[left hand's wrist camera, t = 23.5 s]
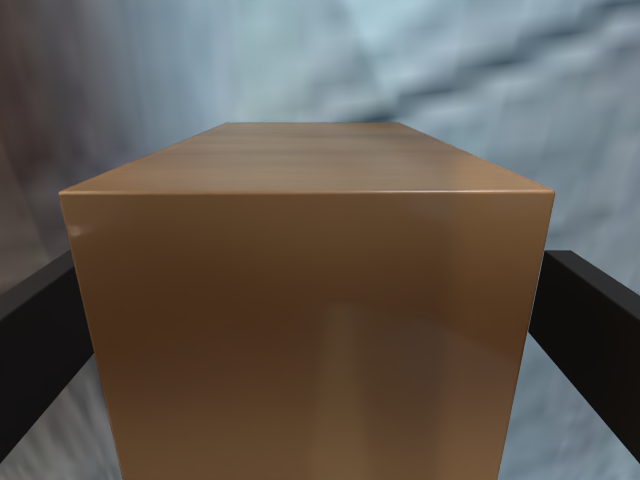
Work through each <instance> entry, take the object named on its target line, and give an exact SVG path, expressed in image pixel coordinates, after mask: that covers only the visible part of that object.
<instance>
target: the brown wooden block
mask: <svg viewBox="0 0 640 480" xmlns="http://www.w3.org/2000/svg"><path fill="white" fill-rule="evenodd" d="M554 197H555V191H554V190H552V189H550V188H548V187H545V186H543V185H541V184H538V183H536V182H534V181H532V180H529V179H527V178H525V177H522V176H520V175H518V174H516V173H513V172H511V171H509V170H506V169H504V168H502V167H500V166H497V165H495V164H493V163H491V162H488V161H486V160H484V159H481V158H479V157H477V156H475V155H472V154H470V153H468V152H465V151H463V150H461V149H459V148H456V147H454V146H452V145H449V144H447V143H445V142H443V141H440V140H438V139H436V138H433V137H431V136H429V135H427V134H424V133H422V132H420V131H417V130H415V129H413V128H411V127H408V126H406V125H404V124H401V123H224V124H222V125H220V126H217V127H215V128H212V129H210V130H207V131H205V132H203V133H200V134H198V135H195V136H193V137H190V138H188V139H186V140H183V141H181V142H178V143H176V144H174V145H171V146H169V147H166V148H164V149H161V150H159V151H157V152H154V153H152V154H149V155H147V156H144V157H142V158H140V159H137V160H135V161H132V162H130V163H127V164H125V165H123V166H120V167H118V168H115V169H113V170H110V171H108V172H106V173H103V174H101V175H98V176H96V177H93V178H91V179H89V180H86V181H84V182H81V183H79V184H76V185H74V186H72V187H69V188H67V189H64V190H62V191H60V192H59V199H60V204H61V208H62V213H63V217H64V222H65V226H66V230H67V235H68V239H69V244H70V248H71V253H72V257H73V261H74V266H75V270H76V275H77V279H78V284H79V288H80V292H81V297H82V301H83V306H84V310H85V315H86V319H87V324H88V328H89V332H90V337H91V341H92V346H93V350H94V355H95V359H96V363H97V368H98V372H99V377H100V381H101V386H102V390H103V394H104V399H105V403H106V408H107V412H108V417H109V421H110V426H111V430H112V434H113V439H114V443H115V448H116V452H117V457H118V461H119V465H120V470H121V474H122V479H123V480H497V478H498V474H499V469H500V464H501V459H502V454H503V449H504V444H505V439H506V434H507V429H508V424H509V419H510V414H511V409H512V404H513V399H514V395H515V390H516V385H517V380H518V375H519V370H520V365H521V360H522V355H523V350H524V345H525V340H526V335H527V330H528V325H529V320H530V316H531V311H532V306H533V301H534V296H535V291H536V286H537V281H538V276H539V271H540V266H541V261H542V256H543V251H544V246H545V242H546V237H547V232H548V227H549V222H550V217H551V212H552V207H553V202H554Z"/></svg>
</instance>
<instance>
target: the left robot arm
mask: <svg viewBox="0 0 640 480" xmlns="http://www.w3.org/2000/svg"><path fill="white" fill-rule="evenodd" d="M528 332H529V333H530V335H531V336H532V337H533V338H534V339H535V340H536V342H537V343H538V344H539V345H540V346H541V348H542V349H543V350H544V351H545V352H546V353H547V355H548V356H549V357H550V358H551V359H552V361H553V362H554V363H555V364H556V365H557V366H558V368H559V369H560V370H561V371H562V372H563V374H564V375H565V376H566V377H567V378H568V379H569V381H570V382H571V383H572V384H573V385H574V387H575V388H576V389H577V390H578V391H579V392H580V394H581V395H582V396H583V397H584V398H585V400H586V401H587V402H588V403H589V404H590V405H591V407H592V408H593V409H594V410H595V411H596V413H597V414H598V415H599V416H600V417H601V418H602V420H603V421H604V422H605V423H606V424H607V426H608V427H609V428H610V429H611V430H612V431H613V433H614V434H615V435H616V436H617V437H618V439H619V440H620V441H621V442H622V443H623V444H624V446H625V447H626V448H627V449H628V450H629V452H630V453H631V454H632V455H633V456H634V457H635V459H636V460H637V461H638V462H639V463H640V296H639V295H638V294H636V293H635V292H633V291H632V290H630V289H629V288H627V287H626V286H624V285H623V284H621V283H620V282H618V281H616V280H615V279H613V278H612V277H610V276H609V275H607V274H606V273H604V272H603V271H601V270H600V269H598V268H597V267H595V266H594V265H592V264H591V263H589V262H588V261H586V260H585V259H583V258H581V257H580V256H578V255H577V254H575V253H574V252H572V251H571V250H545V251H544V256H543V261H542V266H541V271H540V276H539V280H538V285H537V290H536V295H535V300H534V305H533V310H532V315H531V320H530V325H529V329H528ZM93 353H94V350H93V346H92V341H91V337H90V332H89V328H88V324H87V319H86V315H85V310H84V306H83V301H82V297H81V292H80V288H79V284H78V279H77V275H76V270H75V266H74V261H73V257H72V253H71V250H69V251H68V252H66V253H65V254H63V255H62V256H60V257H59V258H57V259H55V260H54V261H52V262H51V263H49V264H48V265H46V266H45V267H43V268H42V269H40V270H39V271H37V272H36V273H34V274H33V275H31V276H30V277H28V278H27V279H25V280H24V281H22V282H20V283H19V284H17V285H16V286H14V287H13V288H11V289H10V290H8V291H7V292H5V293H4V294H2V295H1V296H0V463H1V462H2V461H3V460H4V459H5V457H6V456H7V455H8V454H9V453H10V452H11V450H12V449H13V448H14V447H15V446H16V444H17V443H18V442H19V441H20V440H21V439H22V437H23V436H24V435H25V434H26V433H27V431H28V430H29V429H30V428H31V427H32V426H33V424H34V423H35V422H36V421H37V420H38V418H39V417H40V416H41V415H42V414H43V413H44V411H45V410H46V409H47V408H48V407H49V405H50V404H51V403H52V402H53V401H54V400H55V398H56V397H57V396H58V395H59V394H60V392H61V391H62V390H63V389H64V388H65V387H66V385H67V384H68V383H69V382H70V381H71V379H72V378H73V377H74V376H75V375H76V374H77V372H78V371H79V370H80V369H81V368H82V366H83V365H84V364H85V363H86V362H87V361H88V359H89V358H90V357H91V356H92V355H93Z"/></svg>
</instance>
